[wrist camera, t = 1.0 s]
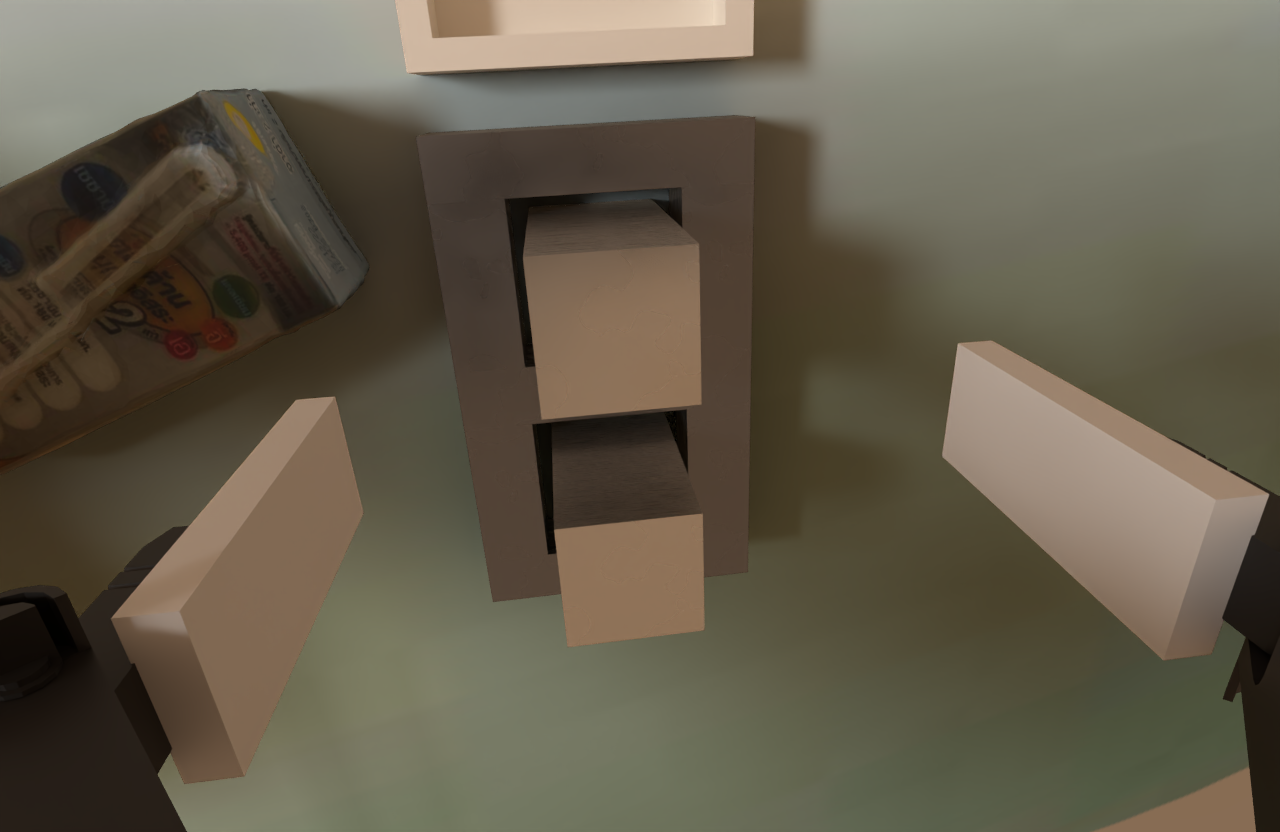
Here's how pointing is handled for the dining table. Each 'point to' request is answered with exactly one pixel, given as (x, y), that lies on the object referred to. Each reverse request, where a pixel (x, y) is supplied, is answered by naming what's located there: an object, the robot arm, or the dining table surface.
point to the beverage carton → (157, 265)
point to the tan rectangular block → (612, 308)
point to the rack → (504, 363)
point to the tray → (569, 33)
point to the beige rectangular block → (625, 530)
